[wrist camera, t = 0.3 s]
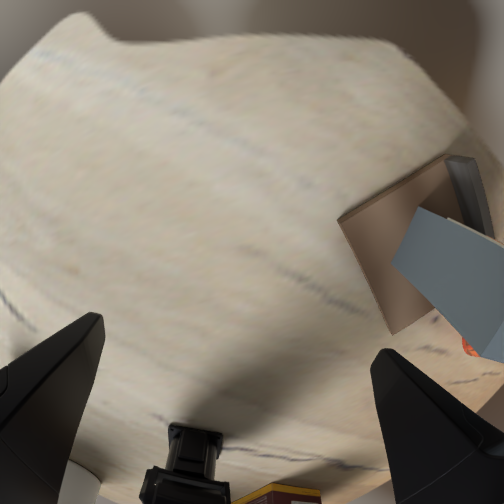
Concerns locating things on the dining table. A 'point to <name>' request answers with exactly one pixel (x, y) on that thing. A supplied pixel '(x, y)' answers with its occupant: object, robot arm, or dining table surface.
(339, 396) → the dining table surface
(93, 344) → the robot arm
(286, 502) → the supplement box
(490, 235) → the plate
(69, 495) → the cylinder vase
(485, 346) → the blue-grey carton
